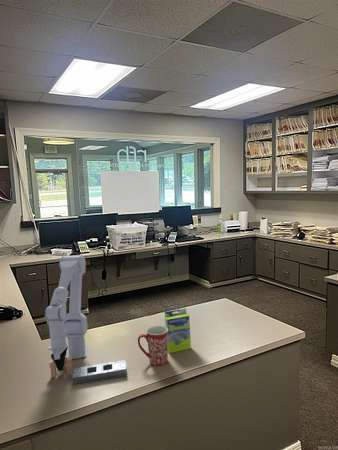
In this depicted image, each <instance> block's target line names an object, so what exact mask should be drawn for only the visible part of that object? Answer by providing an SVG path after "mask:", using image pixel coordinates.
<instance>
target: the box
mask: <svg viewBox="0 0 338 450" xmlns="http://www.w3.org/2000/svg"><path fill="white" fill-rule="evenodd" d="M176 312H177V313H176ZM164 322H165V323H164V324H165V326H164V327H166V328H168V334H167V335H168V354H171V353H176V352H180V351H181V352H182V351H186V350H189V349H191V350H192V344H191V343H192V341H191V325H190V324H191V323H190V322H191V321H190V314H188V313H187V308H185V307H184V308H180V309H179V308H178V309H175V310H169V311H168V310H167V311H164Z"/></svg>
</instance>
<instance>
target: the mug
mask: <svg viewBox="0 0 338 450" xmlns="http://www.w3.org/2000/svg"><path fill="white" fill-rule="evenodd" d="M145 333H146V334H145ZM145 333H144V334H139V335H138V337H137V345H138V347H139V349H140V351H142V353H143V354H144V355H145V356H146V357H147V358H148V359H149V363H150V364H151V365H152V366H155V367H156V366H157V367H158V366H159V367H160V366H163V365H165V364H167V363H168V361H169V360H168V359H169V358H168V356H169V355H168V354H169V352H168V335H167V334H168V328H166V326H164V325H154V326H153V325H152V326H150V327H148V328H146V330H145ZM141 338H144V339H145V340H146V342H147V347H148V352H147V351H146V350H145V349H144V347H142V345H141V341H140V340H141Z"/></svg>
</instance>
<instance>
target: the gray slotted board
mask: <svg viewBox="0 0 338 450" xmlns="http://www.w3.org/2000/svg"><path fill="white" fill-rule="evenodd" d="M127 376H128V371H127V364H126V360H125V359H123V360H117V361H111V362H110V361H109V362H105V363H99V364H93V365H85V366H80V367H74V368H73V369H72V376H71V378H72V379H71V380H72V386H73V385H74V386H78V384H80V385H86V384H91V383H95V382H96V381H97V382H102V380H103V381H108V380H113V379H119V378H124V377H127ZM90 382H91V383H90Z"/></svg>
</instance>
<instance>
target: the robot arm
mask: <svg viewBox="0 0 338 450" xmlns="http://www.w3.org/2000/svg"><path fill="white" fill-rule="evenodd" d="M86 263H87V262H86V258H85V256H84V255H83V254H80V255H79V254H78V255H62V256H61V257H60V259H59V268H60V271H61V272H60V276H59V277H60V278H59V282H58V287H56V288H55V289H54V291H53V293H52V294H53V295H52V298H51V300H50V303H49V306H47V307H46V308H45V310H44V319H45V320H46V325H47V326H48V329H49V339H50V346H48V348H47V349H48V351H51V352H52V353H51V355H50V357H51V360H54V362H55V364H56V371H58V372H61V371H64V370H65V366H64V360H65V358H66V356H67V358H68V357H71V360H76V359H82V357H83V358H86V357H87V355H88V346H86V342H85V341H86V340H85V339H86V338H85V335H86V334H87V332H88V329H89V328H88V327H89V325H88V318H87V316H86V315H85V314H84V313H82V311H81V310H82V286H83V285H82V282H83V275H84V274H86V265H87V264H86ZM69 286H70V287H69ZM68 288H69V290H68ZM68 297H69V309H68V313H67V301H68ZM67 352H68V355H67Z"/></svg>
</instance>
